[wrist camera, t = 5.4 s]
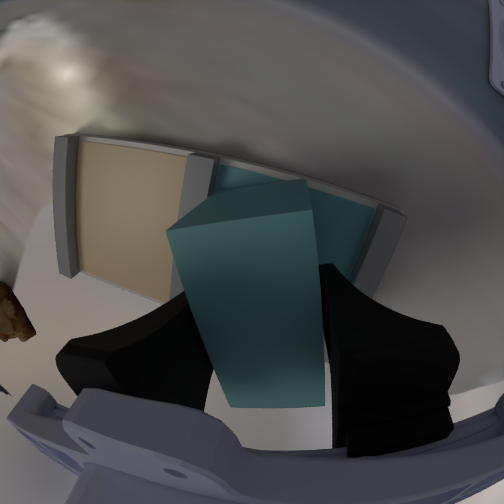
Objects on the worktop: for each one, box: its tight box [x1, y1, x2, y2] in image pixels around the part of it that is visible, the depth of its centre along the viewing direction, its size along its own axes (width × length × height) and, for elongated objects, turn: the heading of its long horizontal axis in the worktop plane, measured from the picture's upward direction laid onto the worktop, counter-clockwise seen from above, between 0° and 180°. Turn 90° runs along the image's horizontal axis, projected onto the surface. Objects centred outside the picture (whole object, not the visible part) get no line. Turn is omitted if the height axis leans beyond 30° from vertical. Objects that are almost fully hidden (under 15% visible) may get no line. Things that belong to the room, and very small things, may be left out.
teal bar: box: [166, 178, 325, 408], centre depth 11 cm, size 4×8×5 cm, turn 11°
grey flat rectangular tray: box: [53, 133, 407, 362], centre depth 14 cm, size 19×9×2 cm, turn 77°
